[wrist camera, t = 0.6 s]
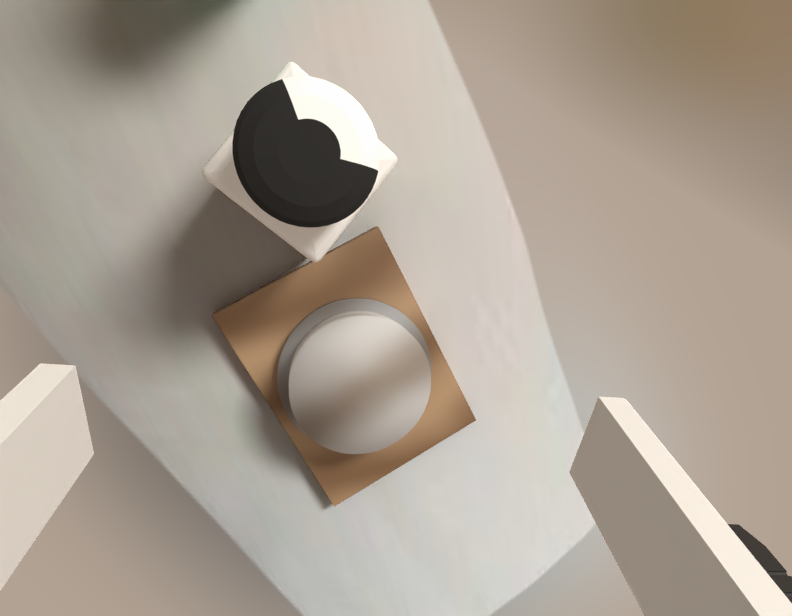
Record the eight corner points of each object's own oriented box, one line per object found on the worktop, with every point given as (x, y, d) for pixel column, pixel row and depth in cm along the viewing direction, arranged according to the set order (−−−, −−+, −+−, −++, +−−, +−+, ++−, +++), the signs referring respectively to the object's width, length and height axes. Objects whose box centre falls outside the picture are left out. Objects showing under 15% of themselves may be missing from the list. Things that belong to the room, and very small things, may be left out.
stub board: (214, 312, 31) (204, 326, 27) (375, 226, 32) (388, 227, 28) (332, 498, 35) (339, 532, 31) (470, 414, 36) (493, 437, 32)
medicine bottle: (309, 256, 31) (325, 275, 20) (217, 184, 29) (175, 160, 18) (376, 172, 32) (429, 143, 20) (288, 94, 29) (292, 12, 18)
